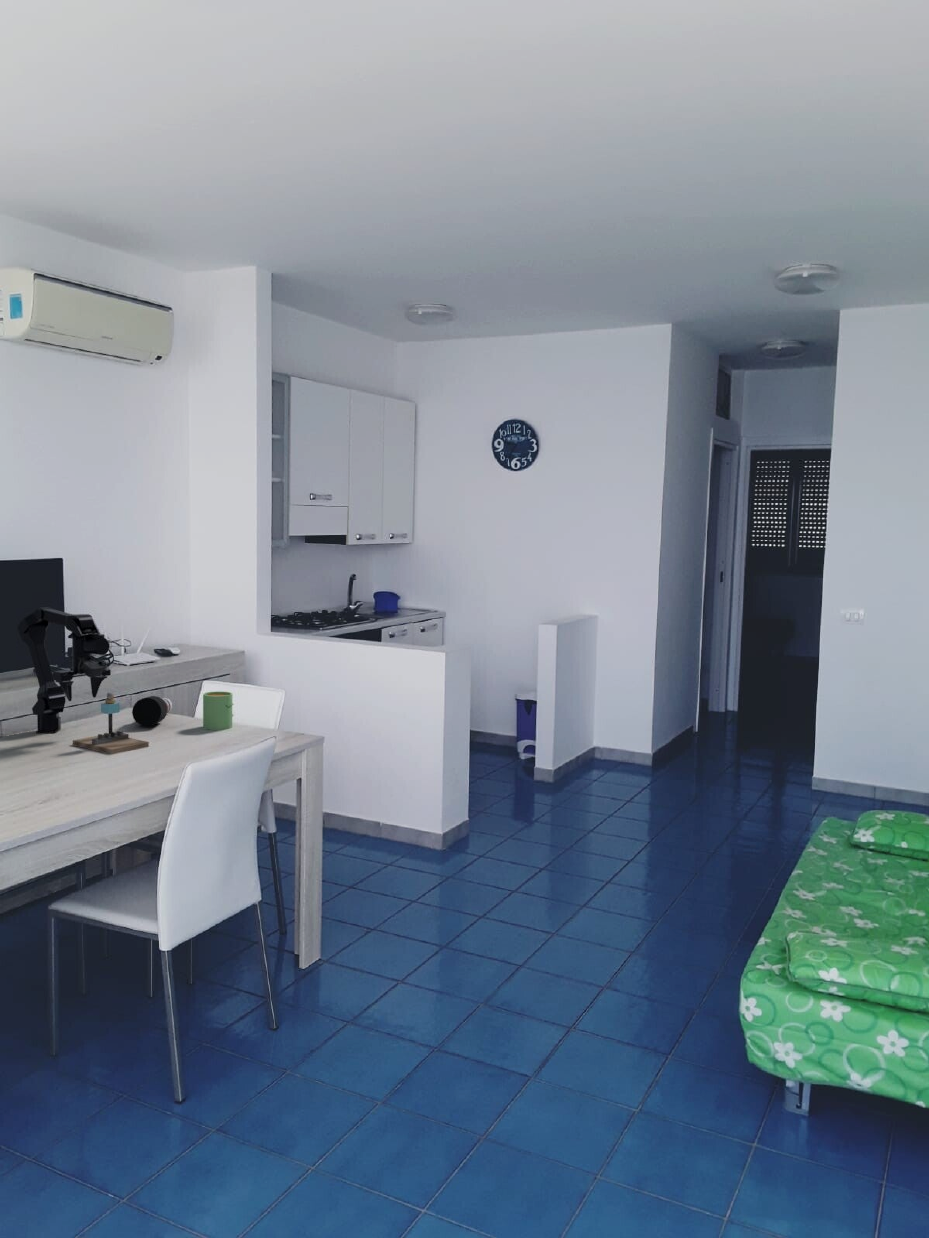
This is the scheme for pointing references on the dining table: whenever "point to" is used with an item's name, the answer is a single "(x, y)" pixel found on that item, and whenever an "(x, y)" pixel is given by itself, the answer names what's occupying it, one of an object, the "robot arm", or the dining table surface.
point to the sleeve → (110, 708)
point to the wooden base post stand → (111, 738)
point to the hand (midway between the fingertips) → (82, 699)
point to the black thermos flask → (151, 710)
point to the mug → (217, 710)
